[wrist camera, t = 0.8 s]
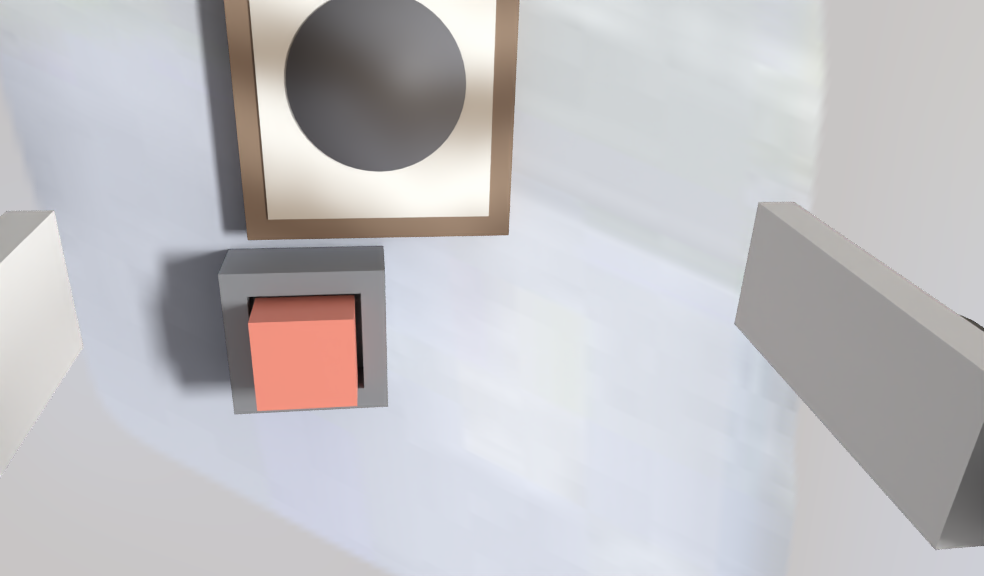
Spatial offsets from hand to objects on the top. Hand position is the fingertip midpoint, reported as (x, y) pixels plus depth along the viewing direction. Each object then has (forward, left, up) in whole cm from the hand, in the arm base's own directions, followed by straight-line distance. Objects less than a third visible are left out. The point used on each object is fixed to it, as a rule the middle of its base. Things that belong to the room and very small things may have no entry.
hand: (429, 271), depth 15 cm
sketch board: (0, -1, -22) cm, 22 cm away
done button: (+12, -4, -19) cm, 23 cm away
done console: (+12, -4, -22) cm, 25 cm away
